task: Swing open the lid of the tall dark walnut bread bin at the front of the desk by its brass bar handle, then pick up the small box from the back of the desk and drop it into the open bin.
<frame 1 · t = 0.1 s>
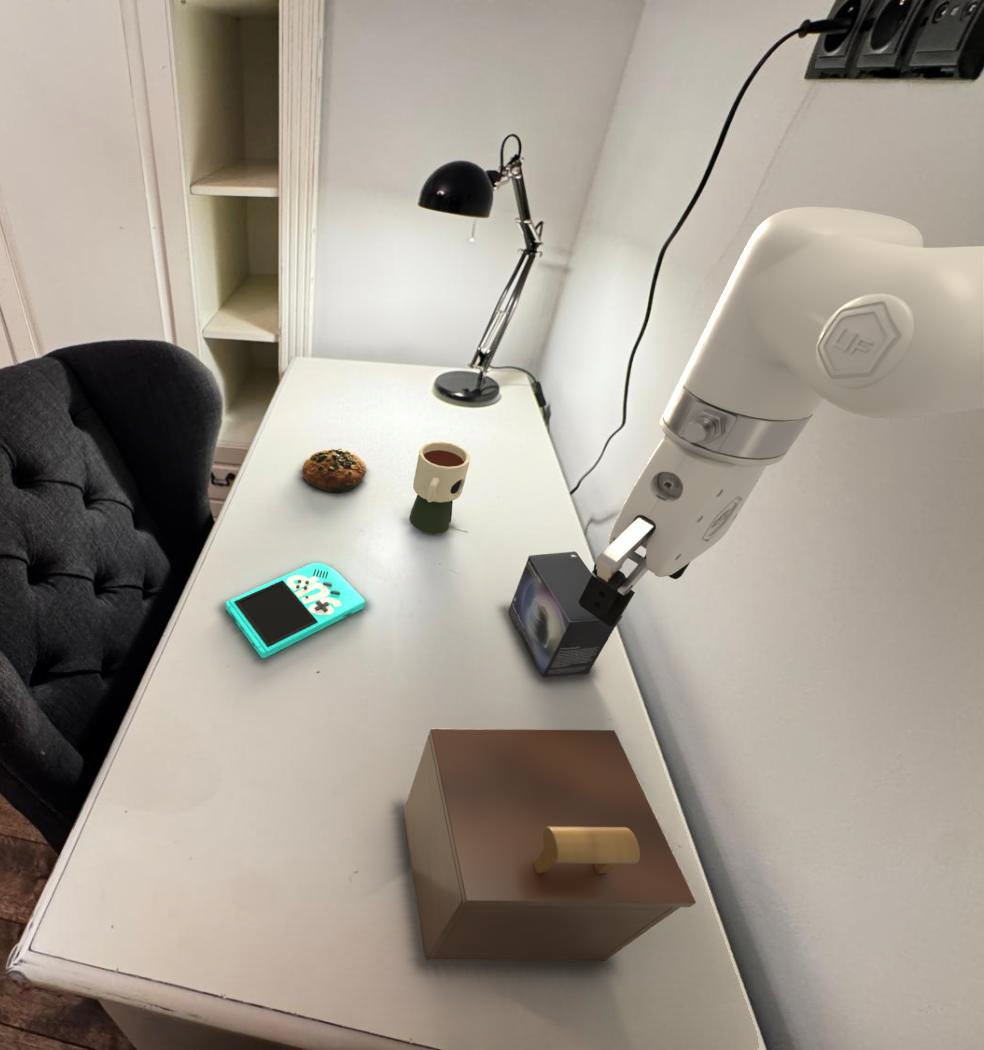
hand: (629, 590, 50), 21 cm above the table, tool pointing down, fingers open, 9 cm apart
small box: (544, 641, 71), on the table
bread roll: (333, 475, 99), on the table
bin lid: (557, 793, 39), point 17 cm above the table, hinge at 0.0°
bread bin: (495, 880, 51), on the table
handheld game console: (295, 609, 75), on the table
character mug: (428, 525, 89), on the table
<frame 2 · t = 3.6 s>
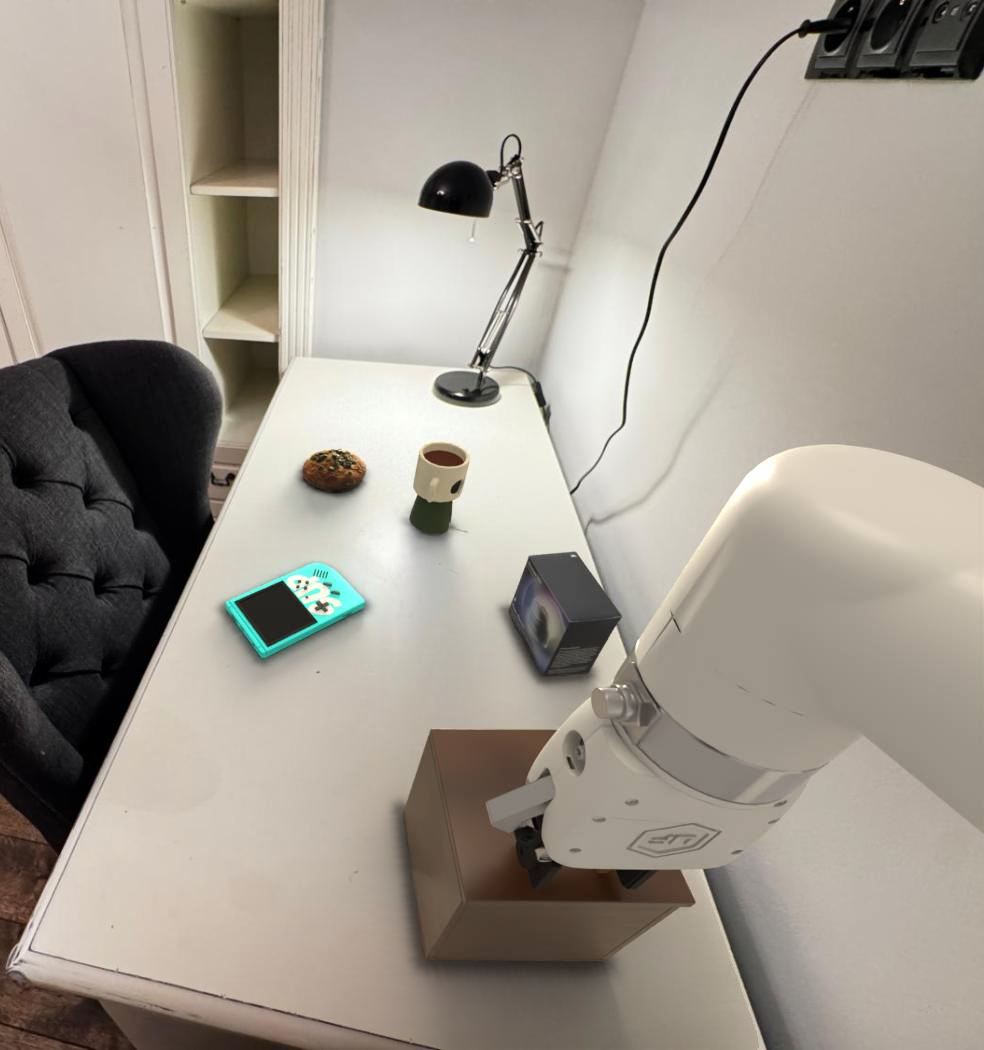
hand: (575, 861, 37), 17 cm above the table, tool pointing down, fingers closed on bin lid, 5 cm apart
bin lid: (557, 793, 39), point 17 cm above the table, hinge at 0.0°, touching gripper
everything else where it was.
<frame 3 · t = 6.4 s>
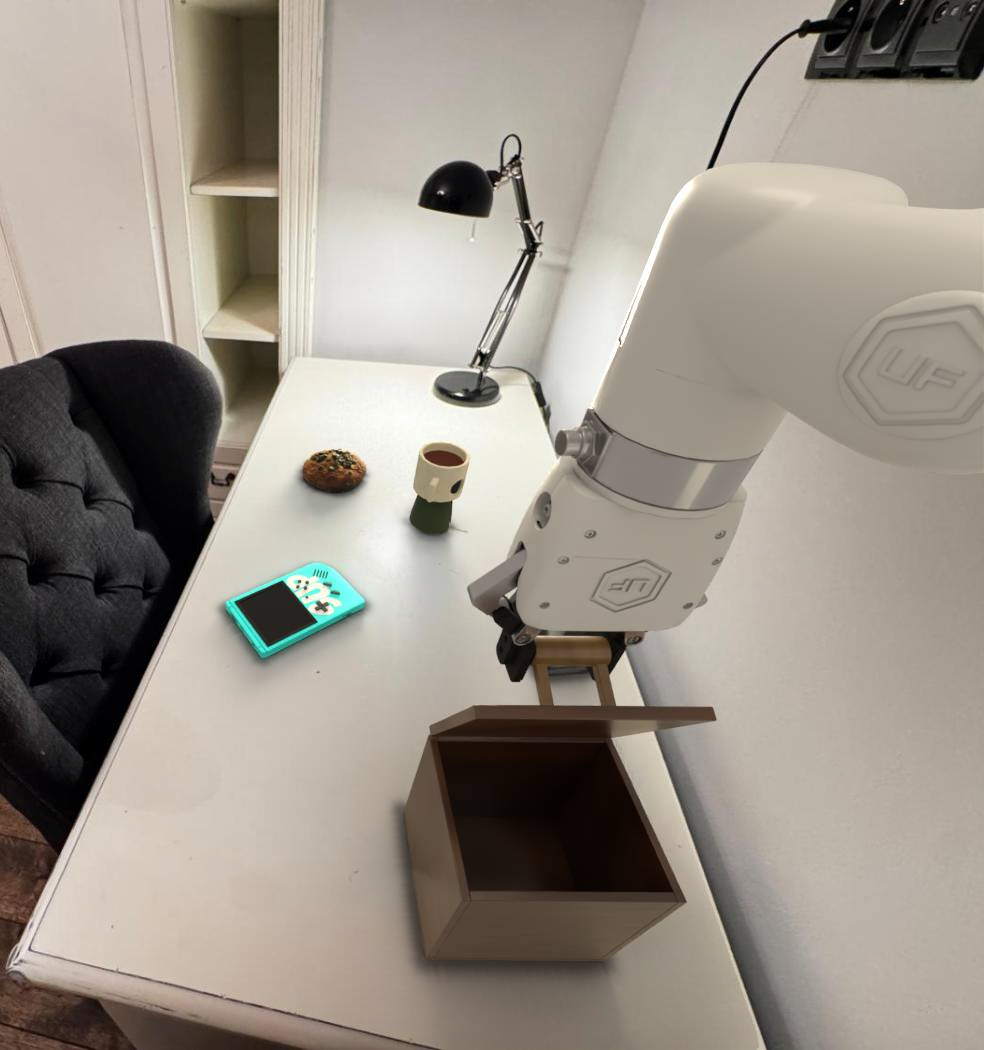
hand: (550, 663, 41), 23 cm above the table, tool pointing down, fingers closed on bin lid, 5 cm apart
bin lid: (546, 688, 41), point 22 cm above the table, hinge at 65.7°, touching gripper
everything else where it was.
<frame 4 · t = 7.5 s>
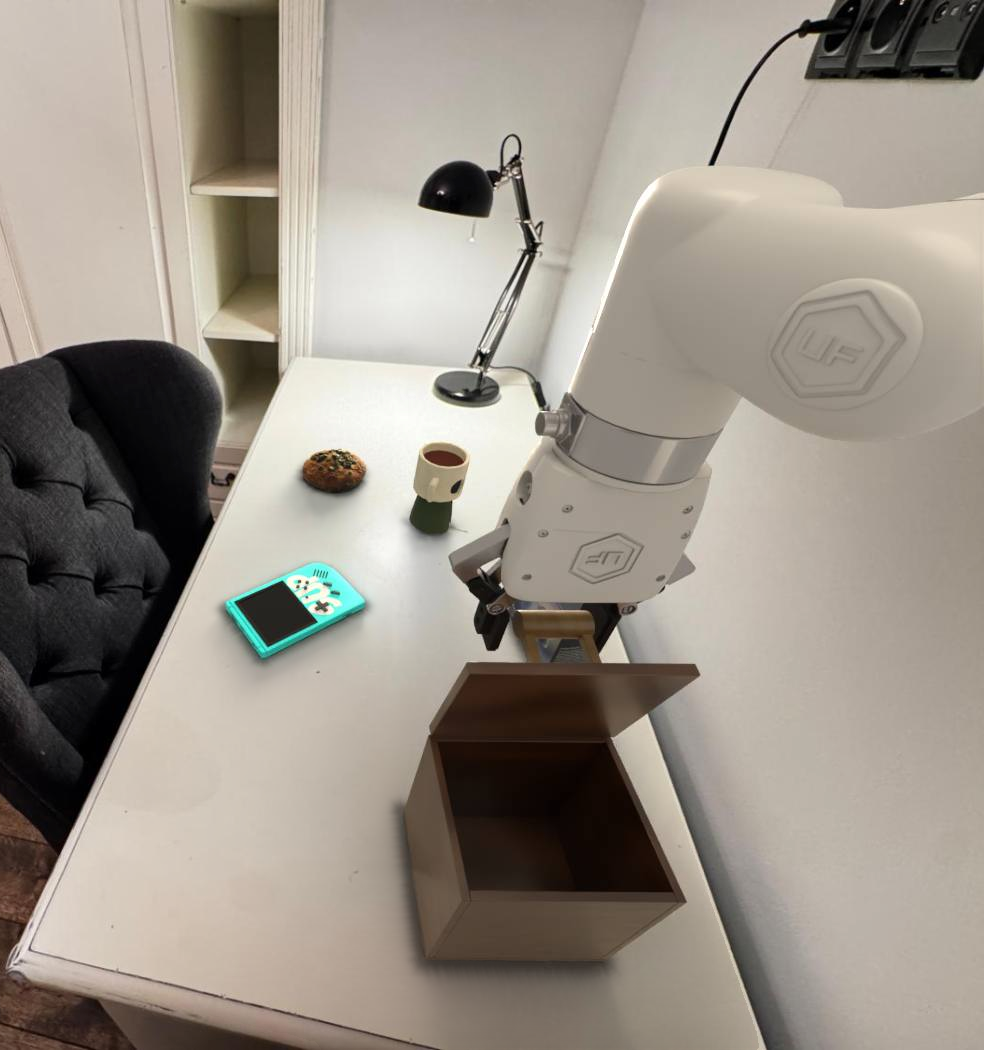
hand: (536, 635, 43), 23 cm above the table, tool pointing down, fingers open, 7 cm apart
bin lid: (539, 672, 42), point 21 cm above the table, hinge at 78.8°
everything else where it was.
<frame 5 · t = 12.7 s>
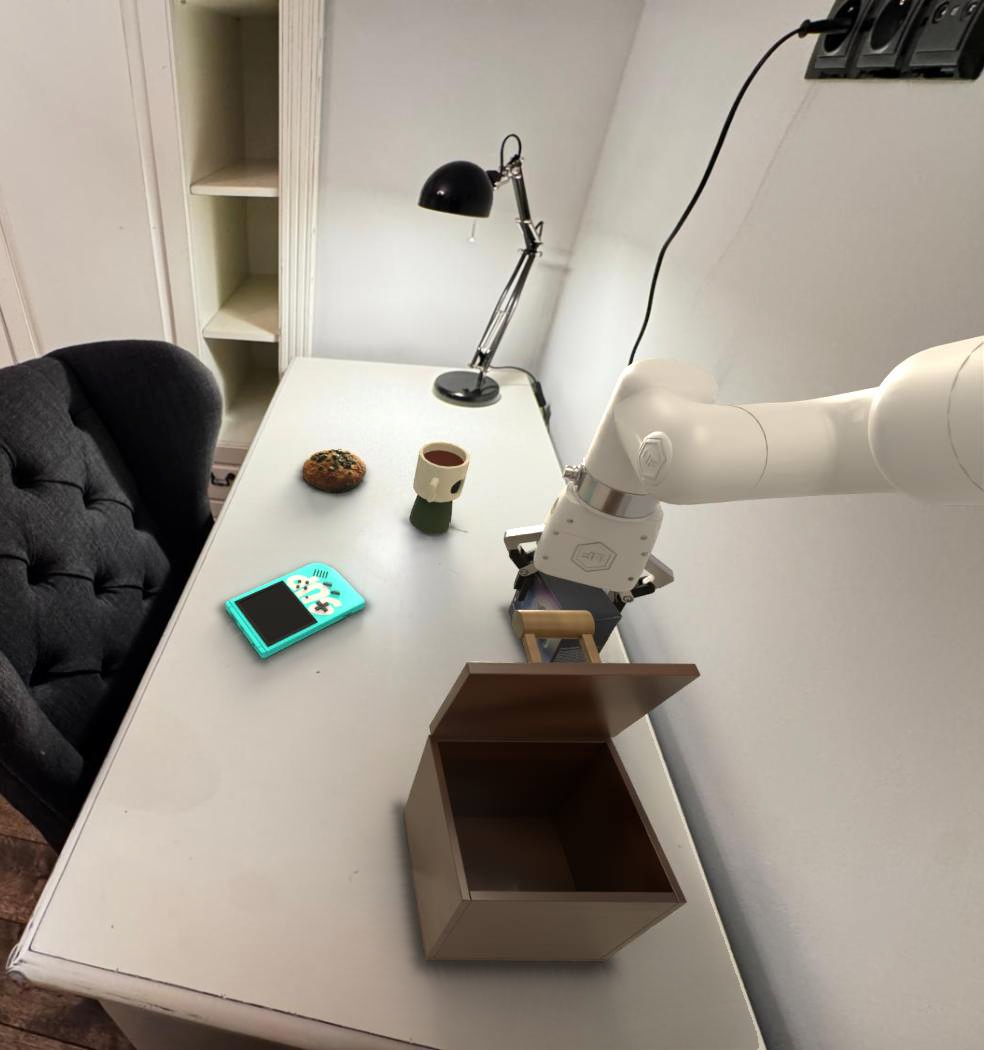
hand: (561, 604, 67), 7 cm above the table, tool pointing down, fingers closed on small box, 8 cm apart
small box: (544, 641, 71), on the table, touching gripper
everything else where it was.
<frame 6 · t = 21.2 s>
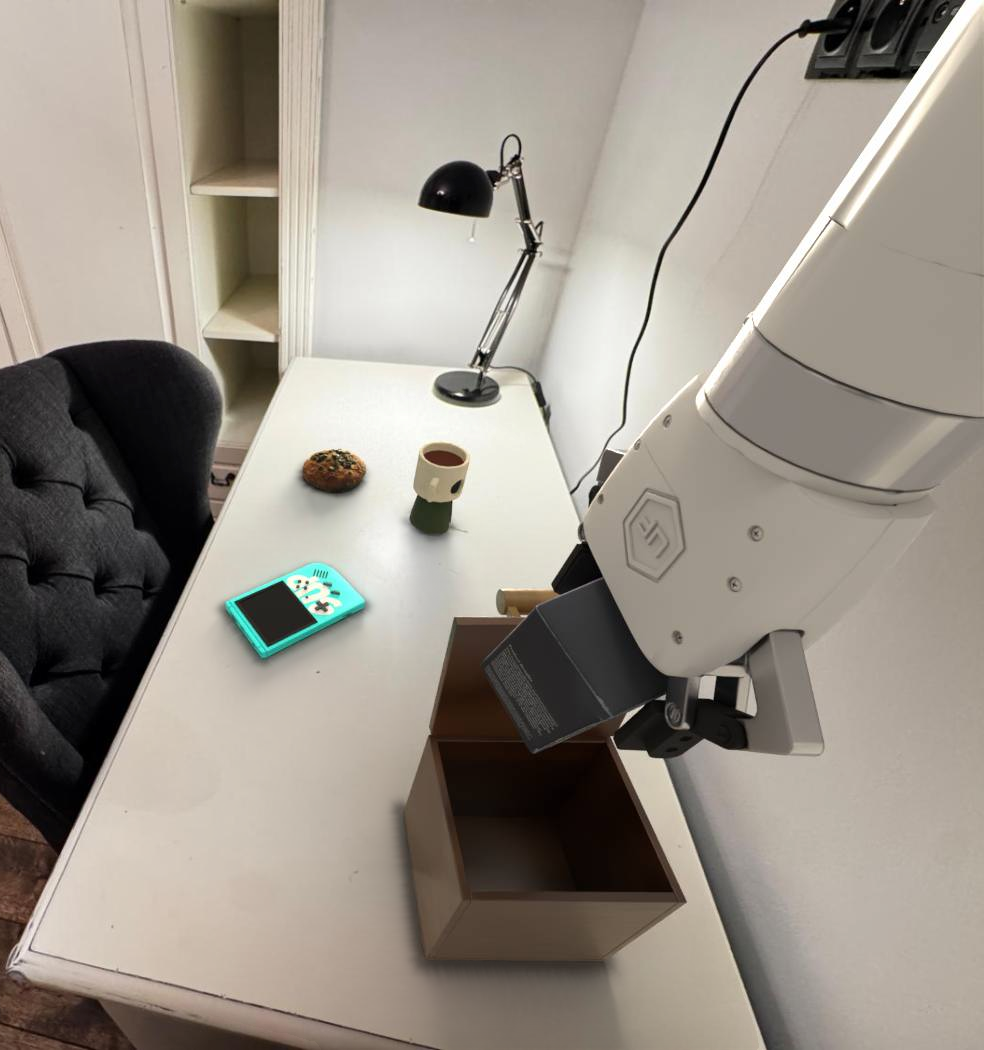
hand: (605, 660, 32), 31 cm above the table, tool pointing down
small box: (569, 675, 37), point 26 cm above the table, touching bin lid, gripper
bin lid: (528, 656, 44), point 21 cm above the table, hinge at 96.9°, touching small box
everything else where it was.
when the fingers open (28 cm above the table, at t = 22.4 s): small box drops 24 cm, resting on bread bin.
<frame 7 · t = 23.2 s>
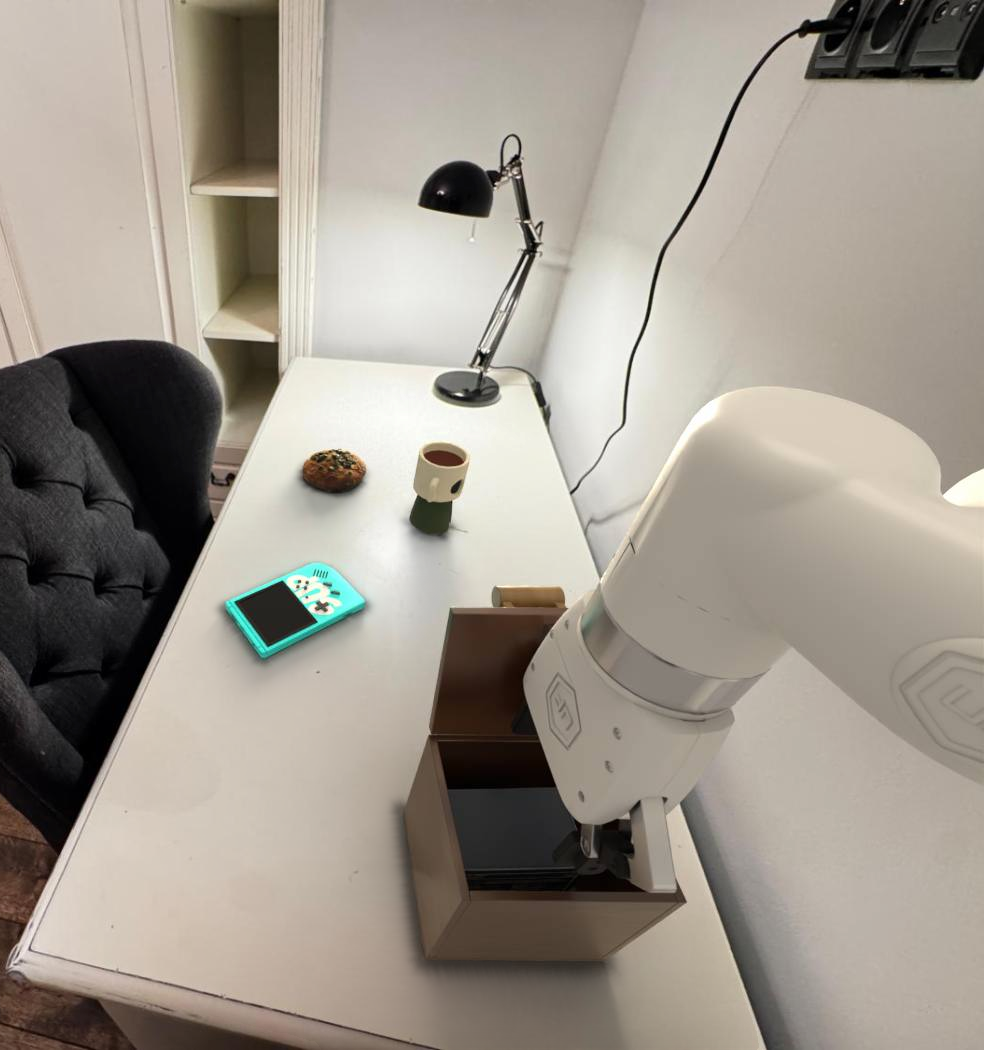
hand: (552, 790, 40), 17 cm above the table, tool pointing down, fingers open, 8 cm apart
small box: (479, 875, 51), resting on bread bin
bin lid: (525, 653, 45), point 20 cm above the table, hinge at 102.1°, touching gripper
everything else where it was.
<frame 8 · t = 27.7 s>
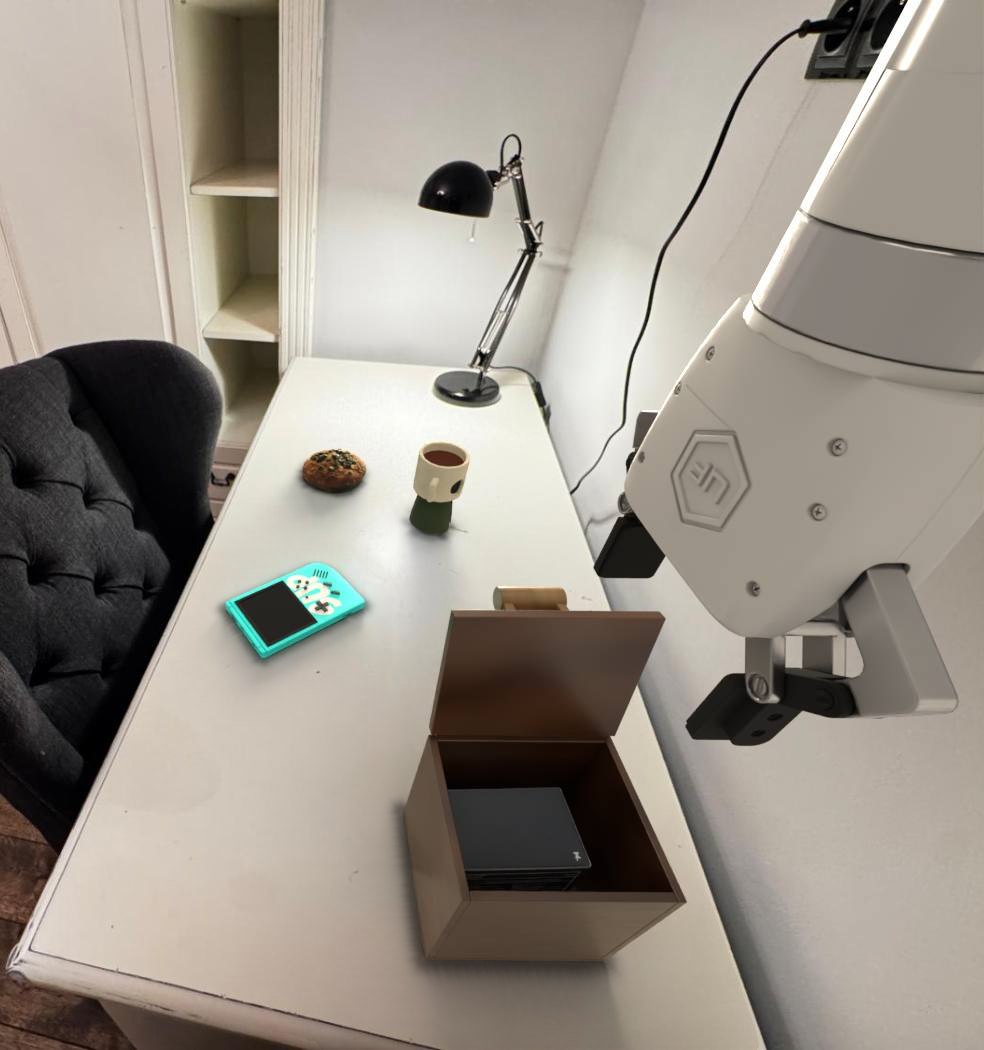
hand: (665, 643, 28), 34 cm above the table, tool pointing down, fingers open, 9 cm apart
bin lid: (526, 654, 45), point 21 cm above the table, hinge at 100.5°
everything else where it was.
at the end: bin lid at +100° (first picture: +0°); small box inside the target area in the bread bin (1.4 cm from its centre), point 0.4 cm above the bread bin's base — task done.
